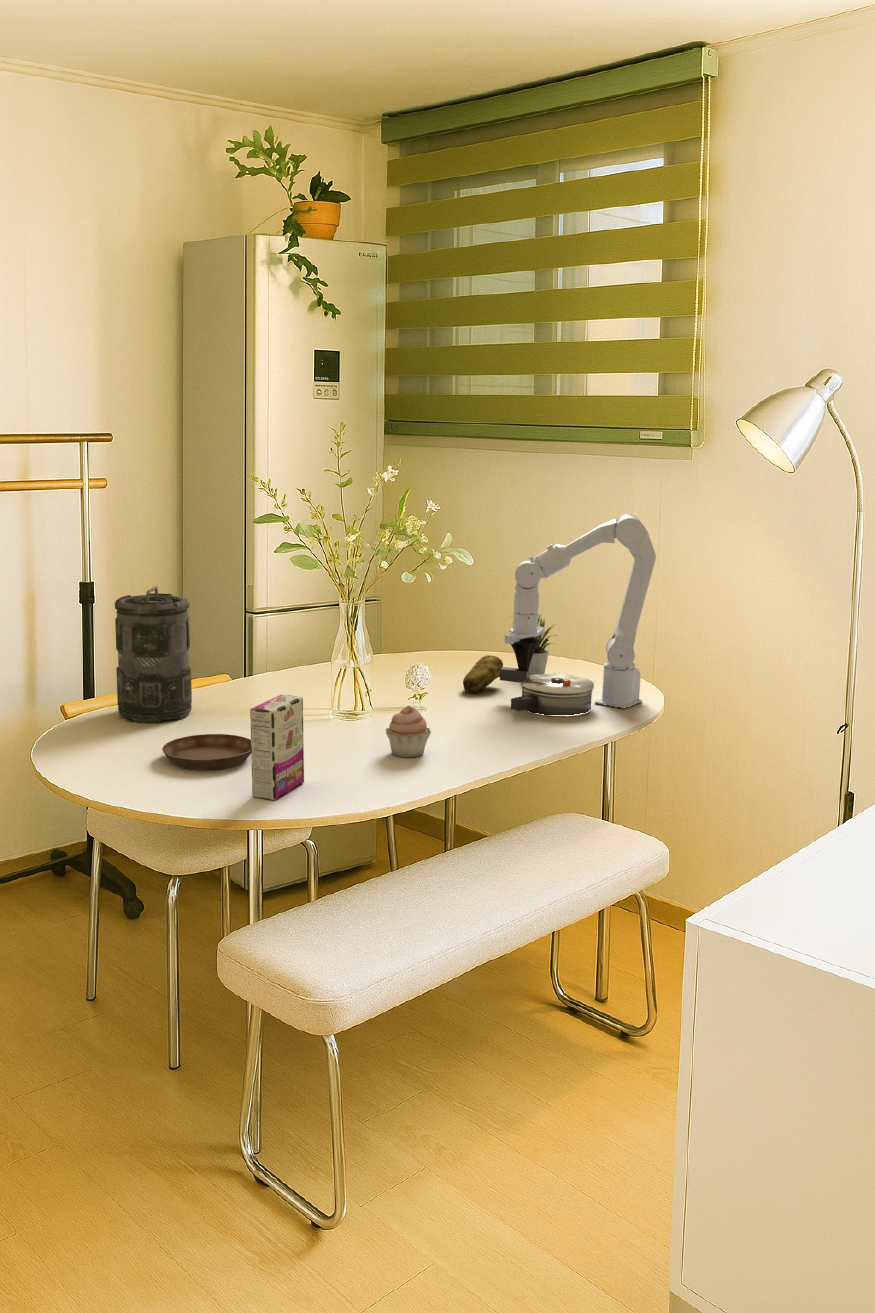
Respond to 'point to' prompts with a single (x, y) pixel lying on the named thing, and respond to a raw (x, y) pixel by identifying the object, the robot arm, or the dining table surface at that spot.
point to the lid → (547, 681)
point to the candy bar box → (277, 746)
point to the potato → (482, 673)
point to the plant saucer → (208, 751)
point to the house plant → (540, 652)
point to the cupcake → (408, 733)
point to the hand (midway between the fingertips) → (523, 669)
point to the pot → (552, 703)
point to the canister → (153, 657)
